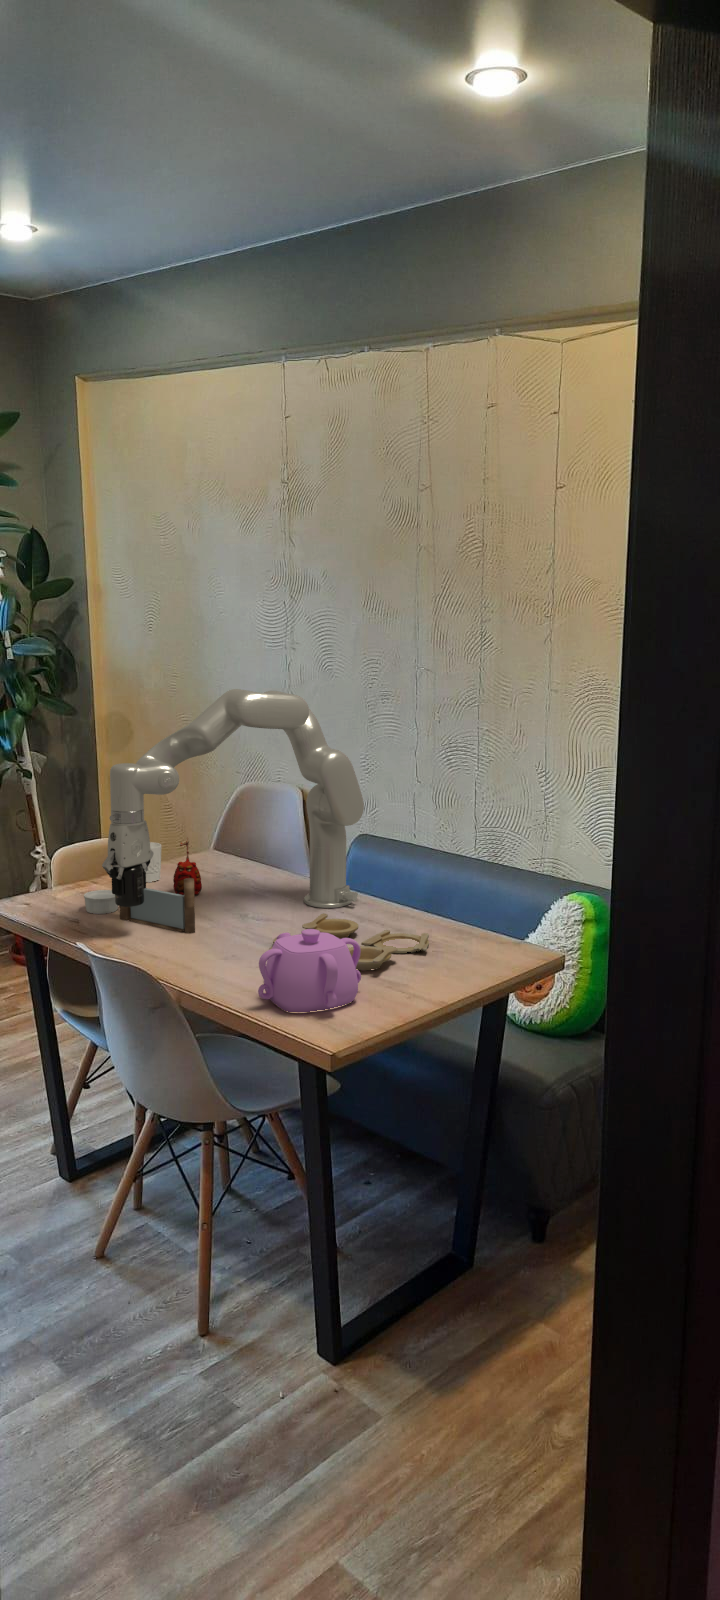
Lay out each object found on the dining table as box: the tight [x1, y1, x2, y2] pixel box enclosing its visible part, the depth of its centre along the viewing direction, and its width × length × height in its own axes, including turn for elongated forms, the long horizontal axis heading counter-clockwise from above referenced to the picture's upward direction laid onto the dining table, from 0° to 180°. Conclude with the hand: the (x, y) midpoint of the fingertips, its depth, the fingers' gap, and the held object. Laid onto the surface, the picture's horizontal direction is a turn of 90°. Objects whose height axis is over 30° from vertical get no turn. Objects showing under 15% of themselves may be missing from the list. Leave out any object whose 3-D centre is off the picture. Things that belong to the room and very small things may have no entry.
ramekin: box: [83, 889, 119, 915], centre depth 285 cm, size 9×9×4 cm
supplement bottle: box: [115, 864, 144, 907], centre depth 263 cm, size 7×7×12 cm
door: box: [131, 887, 185, 929], centre depth 273 cm, size 17×3×8 cm, turn 58°
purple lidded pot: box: [257, 929, 362, 1013], centre depth 224 cm, size 19×21×14 cm
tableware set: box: [268, 913, 430, 971], centre depth 256 cm, size 35×29×4 cm
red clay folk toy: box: [172, 836, 203, 897], centre depth 300 cm, size 8×7×15 cm
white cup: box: [146, 841, 162, 883], centre depth 315 cm, size 8×8×10 cm
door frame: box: [119, 878, 196, 934], centre depth 272 cm, size 23×3×13 cm, turn 58°
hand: (129, 890), depth 263 cm, fingers closed on supplement bottle, 6 cm apart
